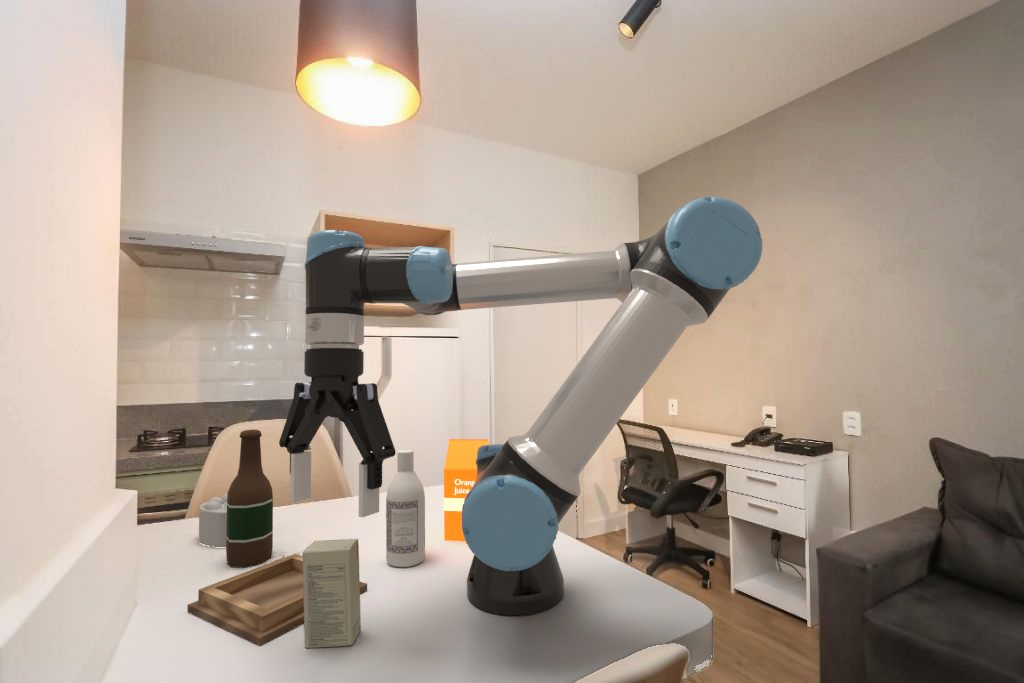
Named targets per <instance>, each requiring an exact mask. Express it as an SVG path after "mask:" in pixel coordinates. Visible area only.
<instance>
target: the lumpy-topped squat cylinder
mask: <svg viewBox="0 0 1024 683" xmlns="http://www.w3.org/2000/svg"><path fill="white" fill-rule="evenodd" d="M227 495H228V493H224V494H222V495H221V496H220V497H218V496H212V497H211V498H209V499H208V501H206V502H203V503H201V504H200V505H199V508H198V543H199V542H200V543H202V544H205V545H209V546H214V547H226V529H227Z"/></svg>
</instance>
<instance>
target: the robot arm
mask: <svg viewBox="0 0 1024 683" xmlns="http://www.w3.org/2000/svg"><path fill="white" fill-rule="evenodd" d="M762 253H763V238H762V236H761V231H760V227H759V225H758V223H757V221H756V220H755V218H754V217H753V215H752V214H751V213H750V211H749V210H747V209H746V208H745V207H744V206H742V205H741V204H739V203H737V202H735V201H733V200H731V199H729V198H726V197H722V196H721V197H720V196H704V197H699V198H697V199H694V200H692V201H690V202H688V203H686V204H685V205H682V206H681V207H680V208H678V209H677V210H675V211H674V212H673V214H672V216H671V217H670V218H669V220H668V221H667V222H666V223H665V224H664V225H663V226H662V227H661V228H660V229H659V231H658V232H657V233H656V234H654V235H652V236H649V237H648V238H645V239H642V240H637V241H632V242H622V243H621V242H620V243H619V245H617V246H616V247H615V249H613V250H605V251H603V250H602V251H590V252H578V253H568V254H555V255H546V256H545V255H544V256H532V257H531V256H530V257H520V258H519V257H518V258H506V259H496V260H482V261H472V262H471V261H470V262H461V263H459V262H458V263H452V260H451V255H450V253H449V251H448V250H447V249H446V248H443V247H436V246H435V247H433V246H432V247H431V246H430V247H429V246H426V245H419V246H413V247H412V246H409V247H406V246H405V247H367V246H366V245H365V240H364V238H363V237H362V236H361V235H360V234H357V233H355V232H354V231H353V232H352V231H347V230H336V229H323V230H318V231H315V232H313V233H312V234H310V235H309V237H308V238H307V243H306V254H305V255H306V256H305V263H304V270H305V312H304V313H305V334H304V336H305V338H304V343H305V344H306V345H308V346H309V348H306V350H304V370H303V371H304V372H303V373H304V375H305V377H309V378H310V379H311V380H310V382H308V381H307V382H304V381H303V382H296V383H294V390H293V400H292V402H291V404H290V408H289V410H288V415H287V417H286V420H285V423H284V426H283V429H282V433H281V435H280V438H279V440H278V441H279V442H278V443H279V444H278V445H279V446H280V448H285V449H286V450H287V452H288V454H289V475H290V492H289V493H290V494H289V495H290V496H289V498H290V499H289V500H290V501H289V502H291V503H295V502H296V503H297V502H300V501H303V500H308V499H311V498H312V496H311V495H312V451H310V450H312V447H311V446H310V445H311V442H312V441H313V440H314V437H315V436H316V434H317V433H318V431H319V429H320V427H321V426H322V425H323V422H324V421H325V419H326V418H328V417H329V418H333V419H334V418H335V419H336V418H337V419H338V421H341V422H342V423H343V424H344V426H345V428H346V430H347V431H348V433H349V436H350V437H351V439H352V441H353V442H354V445H355V446H356V448H357V450H358V452H359V454H360V456H361V457H362V460H361V462H360V463H358V517H360V518H365V517H367V516H371V515H374V514H377V513H379V512H380V488H382V486H383V463H384V460H387V459H389V458H393V457H395V456H396V452H397V451H396V448H395V446H394V442H393V440H392V437H391V433H390V430H389V428H388V426H387V425H388V424H387V421H386V419H385V416H384V413H383V411H382V407H381V404H380V402H379V394H378V393H379V392H378V385H377V384H376V383H373V382H372V383H359V378H360V376H362V375H363V374H364V365H365V364H364V358H365V357H364V354H365V352H364V351H363V349H360V346H362V345H364V344H365V318H364V317H365V310H364V309H365V304H403V305H405V306H408V307H409V308H412V309H413V310H415V311H416V312H418V314H422V315H425V316H437V315H441V314H443V313H446V312H456V311H465V310H477V309H478V310H479V309H490V308H506V307H517V306H530V305H531V306H533V305H544V304H554V303H555V304H557V303H559V304H560V303H569V302H571V303H573V302H584V301H595V300H596V301H598V300H608V299H609V300H610V299H617V300H618V301H620V302H621V304H620V305H619V307H618V308H617V309H616V311H615V312H614V313H613V315H612V317H611V318H610V319H609V320H608V322H607V323H606V324H605V326H604V328H602V330H601V331H600V333H599V334H598V335H597V337H596V338H595V340H594V341H593V342H592V344H591V345H590V347H588V349H587V351H586V352H585V353H584V354H583V356H581V359H580V360H579V361H578V362H577V364H576V365H575V366H574V368H573V370H572V371H571V372H570V374H569V375H568V376H567V377H566V379H565V380H564V382H563V383H562V384H561V386H560V387H559V389H558V390H557V391H556V392H555V394H554V395H553V397H552V398H551V400H550V401H549V402H548V404H547V405H545V408H544V409H543V410H542V412H541V413H540V415H538V417H537V419H536V420H535V421H534V423H533V424H532V426H531V427H530V428H529V429H528V430H527V432H526V433H524V434H522V435H515V436H510V437H508V438H507V440H506V441H505V443H503V444H501V443H498V444H497V443H496V444H489V445H482V446H480V447H479V448H478V450H477V459H476V461H475V462H476V465H477V479H476V481H475V483H474V485H473V487H472V489H471V490H470V491H469V493H468V494H467V496H466V498H465V500H464V504H463V507H462V531H463V535H464V538H465V541H464V542H465V543H466V545H467V546H468V548H469V550H470V551H471V552H472V553H473V556H472V557H473V558H472V561H471V563H470V564H471V565H470V568H469V571H468V574H467V578H466V596H467V599H468V600H469V602H470V603H471V604H472V605H473V606H474V607H476V608H478V609H480V610H482V611H485V612H488V613H491V614H495V615H505V616H525V615H532V614H537V613H541V612H543V611H544V612H545V611H546V610H549V609H551V608H553V607H554V606H556V605H557V604H559V603H560V601H562V599H563V597H564V596H565V595H564V594H565V592H564V590H565V589H564V588H565V586H564V585H565V584H564V576H563V572H562V569H561V566H560V563H559V560H558V556H557V555H556V551H555V548H554V543H555V541H556V539H557V535H558V532H559V524H560V523H561V521H562V520H563V519H564V517H565V516H566V514H567V513H568V511H570V509H571V507H572V506H573V505H574V503H575V502H576V500H577V499H578V498H579V496H580V495H581V493H582V491H581V485H580V474H581V473H582V471H584V468H586V466H587V464H588V463H589V462H590V461H591V459H592V457H593V456H594V455H595V454H596V452H597V451H598V449H599V448H600V447H601V445H602V444H603V443H604V441H605V440H606V438H607V437H608V436H609V434H610V433H611V432H612V430H613V428H614V427H615V426H616V425H617V424H618V422H619V421H620V419H621V418H622V417H623V415H624V414H625V412H626V411H627V410H628V408H629V407H630V405H631V404H632V403H633V401H634V400H635V398H636V397H637V396H638V394H639V393H640V392H641V390H642V389H643V388H644V387H645V385H646V384H647V383H648V381H649V380H650V378H651V377H652V375H653V374H654V372H655V371H656V370H657V369H658V367H659V366H660V364H661V363H662V362H663V360H664V359H665V358H666V356H667V355H668V353H669V352H670V351H671V349H672V348H673V347H674V345H675V344H676V343H677V341H679V338H680V337H681V336H682V334H683V333H684V332H685V330H686V329H687V328H688V327H689V326H695V325H700V324H705V323H706V322H707V321H708V320H709V318H710V317H711V315H712V314H713V313H714V311H716V308H717V307H718V306H719V305H720V303H721V302H722V300H723V299H724V297H726V295H727V293H728V292H729V291H730V290H731V289H732V288H735V287H737V286H739V285H741V284H743V283H744V281H746V280H747V279H749V277H750V276H751V275H752V273H754V271H755V270H756V268H757V267H758V265H759V263H760V261H761V258H762Z"/></svg>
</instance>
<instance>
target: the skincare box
mask: <svg viewBox="0 0 1024 683" xmlns="http://www.w3.org/2000/svg"><path fill="white" fill-rule="evenodd" d="M359 549H360V548H359V538H348V539H347V538H345V539H344V538H343V539H328V540H327V539H326V540H325V539H324V540H314V541H313V542H312V543H310V544H309V545H308V546H307V547H306V548H305V549H304V550H303V551H302V556H303V593H304V623H303V625H304V626H303V630H304V631H303V632H304V633H303V634H304V648H305V649H309V648H310V649H311V648H312V649H314V648H329V647H332V648H333V647H344V646H345V647H346V646H352V645H353V644H354V642H355V640H356V639H357V637H358V635H359V633H360V631H361V627H362V626H361V624H362V623H361V621H362V620H361V616H362V615H361V594H360V582H361V581H360V552H359V551H360V550H359Z"/></svg>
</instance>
